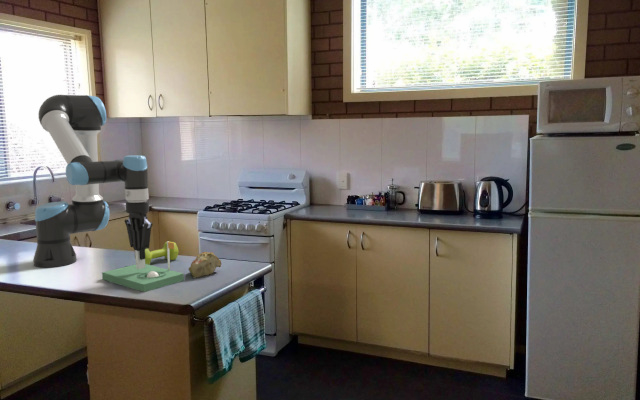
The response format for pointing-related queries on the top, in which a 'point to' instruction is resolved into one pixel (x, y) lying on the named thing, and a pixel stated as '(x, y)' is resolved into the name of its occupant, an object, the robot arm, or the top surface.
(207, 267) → the rock
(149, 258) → the dumbbell
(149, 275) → the ball
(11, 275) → the top surface
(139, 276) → the mat
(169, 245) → the flag
